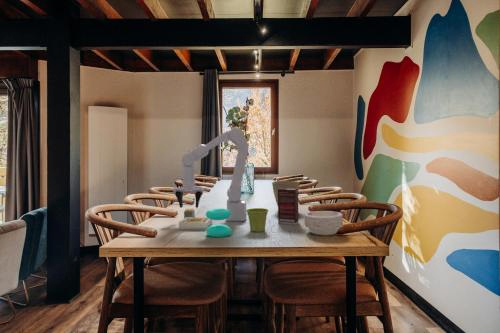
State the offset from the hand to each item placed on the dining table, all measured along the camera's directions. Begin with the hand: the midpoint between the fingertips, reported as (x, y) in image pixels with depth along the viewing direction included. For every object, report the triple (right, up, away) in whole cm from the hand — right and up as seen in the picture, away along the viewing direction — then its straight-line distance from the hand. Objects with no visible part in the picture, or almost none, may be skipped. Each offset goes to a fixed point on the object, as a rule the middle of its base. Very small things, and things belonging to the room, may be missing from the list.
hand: (189, 207), depth 167 cm
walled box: (+5, -7, -11) cm, 14 cm away
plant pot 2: (+49, -5, +25) cm, 55 cm away
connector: (0, -7, 0) cm, 7 cm away
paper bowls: (+59, -8, -26) cm, 65 cm away
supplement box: (+47, -7, -6) cm, 48 cm away
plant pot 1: (+32, -8, -20) cm, 39 cm away
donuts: (+17, -8, -26) cm, 32 cm away
